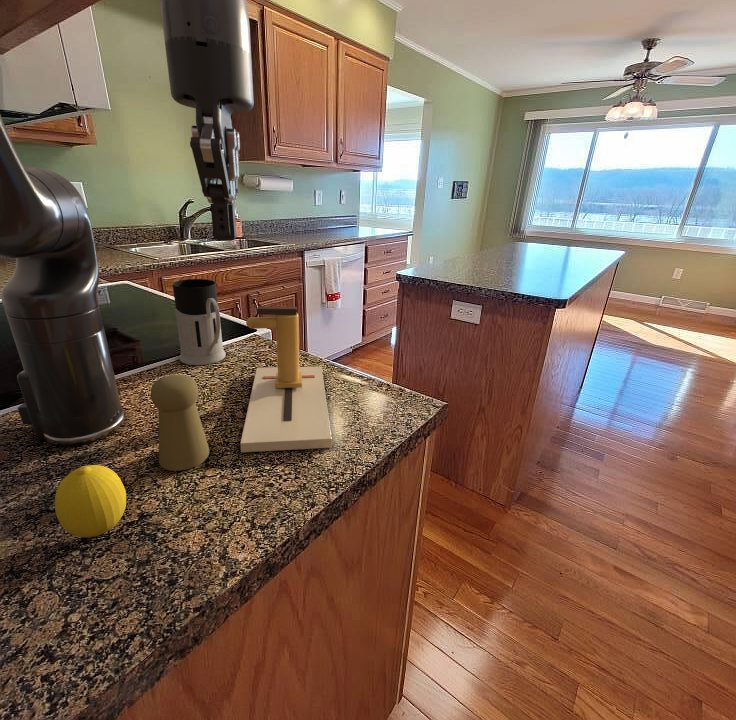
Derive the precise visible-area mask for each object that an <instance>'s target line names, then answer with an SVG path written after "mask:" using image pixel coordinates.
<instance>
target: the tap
mask: <svg viewBox="0 0 736 720" xmlns="http://www.w3.org/2000/svg"><path fill="white" fill-rule="evenodd" d="M297 311H298V310H297V306H258V307H257V315H258V316H250V317H248V318H247V319H246V321H245V324H246V325H245V326H246V327H248V328H249V329H275V335H276V361H277V367H278V373H276V380H275V388H302V372H299V367H300V332H299V331H300V329H299V328H300V327H299V326H300V323H299V321H300V320H299V319H300V318H299V312H297ZM259 315H260V316H259Z"/></svg>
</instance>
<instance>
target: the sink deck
mask: <svg viewBox="0 0 736 720" xmlns="http://www.w3.org/2000/svg"><path fill="white" fill-rule="evenodd" d="M299 372H302V388H275V380H276V373H278V366H274V367H273V366H271V367H269V366H267V367H256V369H255V374H254V379H253V382H252V383H253V384H252V388H251V393H250V397H249V400H248V405H247V411H246V415H245V420H244V423H243V424H244V425H243V429H242V433H241V438H240V443H239V444H240V445H239V447H240V452H241V453H257V452H275V451H276V452H277V451H292V450H311V449H312V450H313V449H314V450H315V449H331V448H332V443H333V442H332V431H331V423H330V417H329V411H328V401H327V398H326V397H327V395H326V390H325V389H326V387H325V383H324V382H325V381H324V374H323V367H322V366H321V365H320V366H299Z"/></svg>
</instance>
